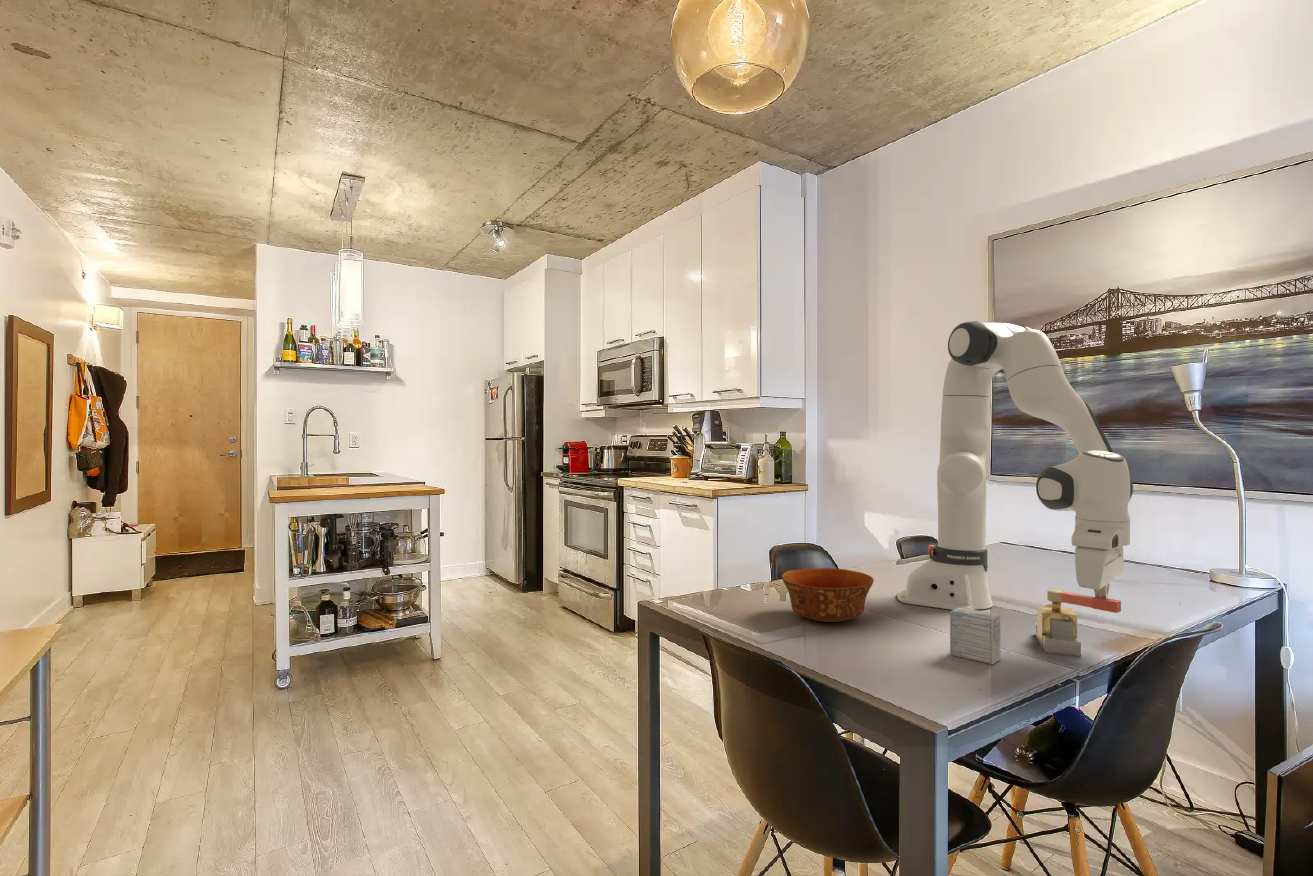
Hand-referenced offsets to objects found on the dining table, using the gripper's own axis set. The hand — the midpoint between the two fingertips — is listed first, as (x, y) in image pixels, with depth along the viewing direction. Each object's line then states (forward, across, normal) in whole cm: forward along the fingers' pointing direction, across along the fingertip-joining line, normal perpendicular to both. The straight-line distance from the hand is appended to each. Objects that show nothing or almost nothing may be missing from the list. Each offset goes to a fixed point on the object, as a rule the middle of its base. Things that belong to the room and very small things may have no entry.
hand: (1101, 603), depth 124 cm
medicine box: (+10, +21, -16) cm, 28 cm away
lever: (+1, +1, -3) cm, 3 cm away
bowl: (+10, +19, -50) cm, 54 cm away
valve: (+10, +1, -7) cm, 12 cm away
